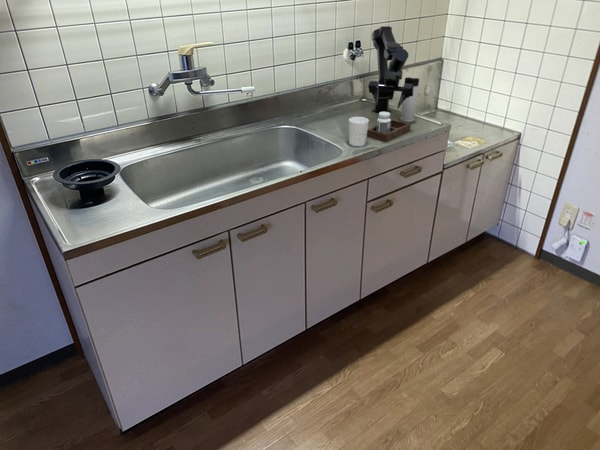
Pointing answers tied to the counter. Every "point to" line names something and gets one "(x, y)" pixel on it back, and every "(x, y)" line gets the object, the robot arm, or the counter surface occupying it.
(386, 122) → the pill bottle
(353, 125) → the white cup
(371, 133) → the divided brown tray
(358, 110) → the counter surface
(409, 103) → the travel mug
